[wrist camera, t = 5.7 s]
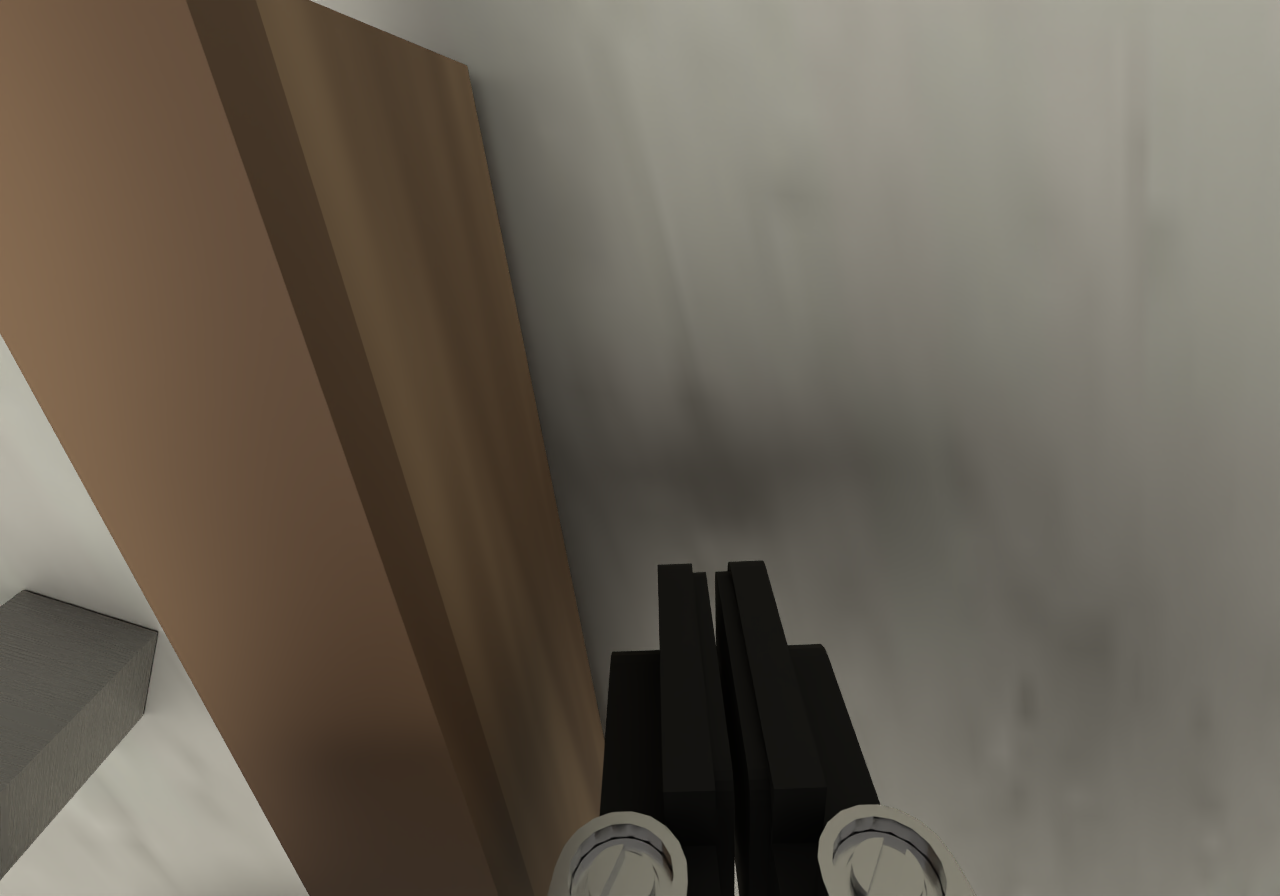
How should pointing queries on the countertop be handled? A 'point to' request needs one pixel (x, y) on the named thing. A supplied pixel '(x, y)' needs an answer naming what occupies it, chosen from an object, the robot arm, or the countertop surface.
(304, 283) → the brown wooden board
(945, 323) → the countertop surface
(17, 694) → the post
